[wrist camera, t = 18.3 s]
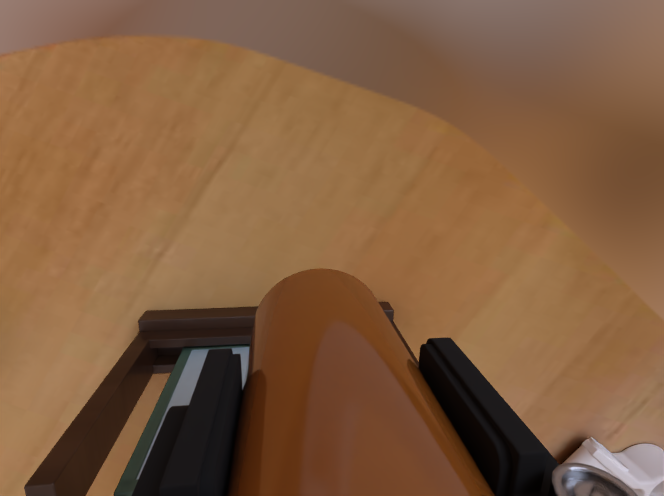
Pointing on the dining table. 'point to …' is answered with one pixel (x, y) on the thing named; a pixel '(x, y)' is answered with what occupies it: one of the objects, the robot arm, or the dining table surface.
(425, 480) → the orange-brown cylinder
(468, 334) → the dining table surface
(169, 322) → the window frame
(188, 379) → the pane
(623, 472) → the white compartment tray
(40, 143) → the dining table surface
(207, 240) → the dining table surface
